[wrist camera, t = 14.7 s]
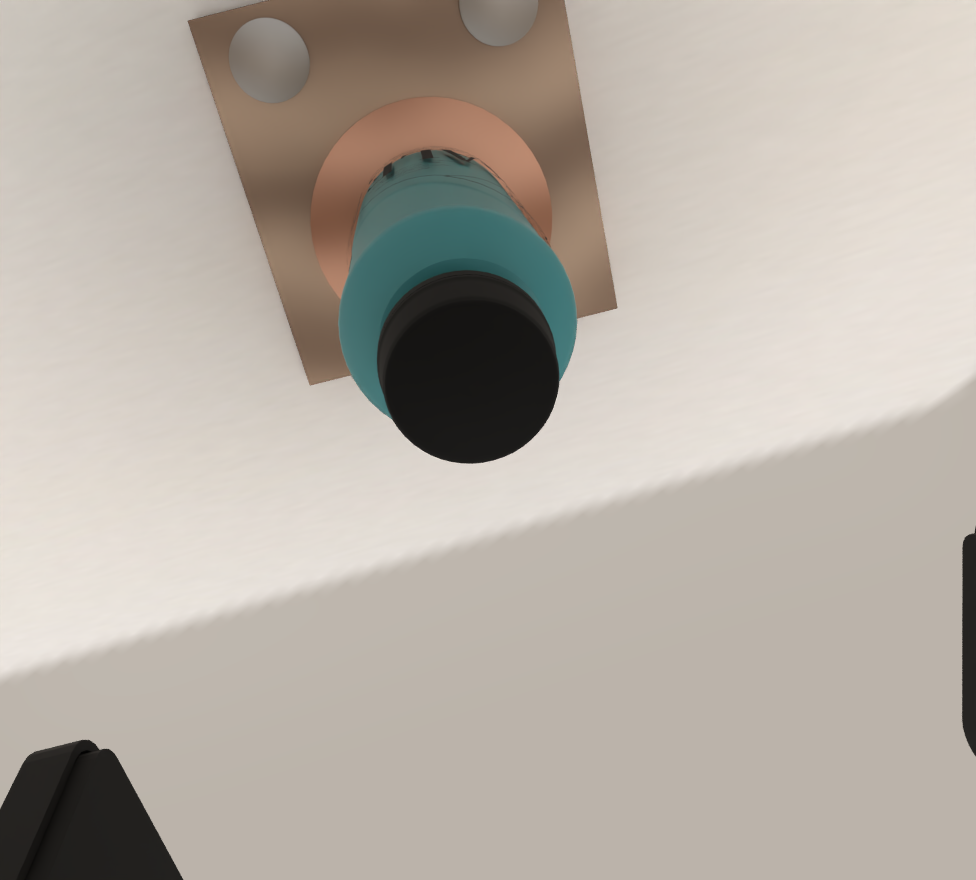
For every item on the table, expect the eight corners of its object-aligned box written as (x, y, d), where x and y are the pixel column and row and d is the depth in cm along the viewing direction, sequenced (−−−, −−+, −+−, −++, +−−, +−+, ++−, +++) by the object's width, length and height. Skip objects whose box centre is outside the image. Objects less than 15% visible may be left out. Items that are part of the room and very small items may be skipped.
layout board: (195, 21, 35) (186, 20, 34) (545, -68, 35) (552, -72, 34) (312, 373, 41) (309, 387, 40) (609, 299, 41) (618, 309, 40)
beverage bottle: (426, 328, 39) (458, 579, 21) (319, 209, 37) (251, 377, 19) (544, 230, 38) (685, 407, 20) (442, 100, 36) (497, 167, 18)
